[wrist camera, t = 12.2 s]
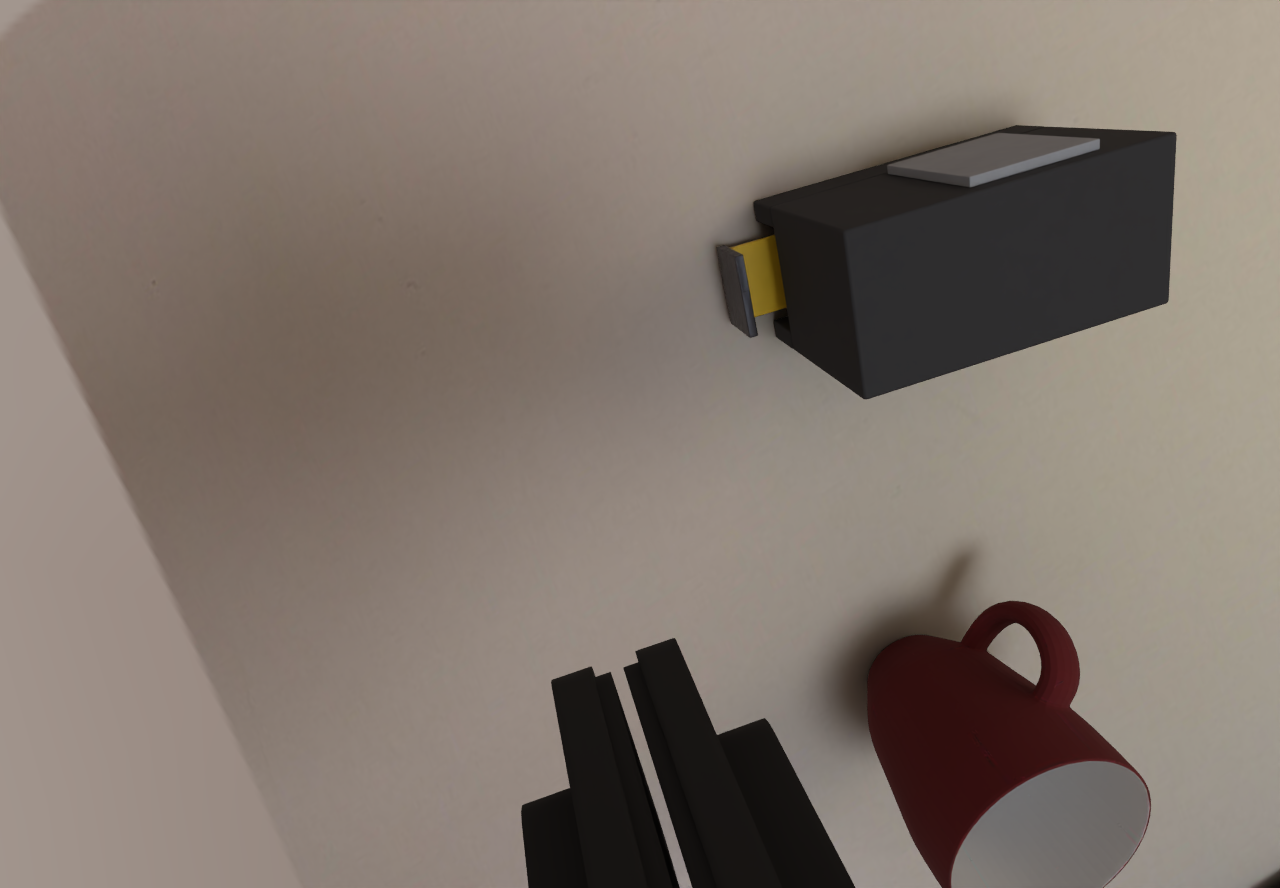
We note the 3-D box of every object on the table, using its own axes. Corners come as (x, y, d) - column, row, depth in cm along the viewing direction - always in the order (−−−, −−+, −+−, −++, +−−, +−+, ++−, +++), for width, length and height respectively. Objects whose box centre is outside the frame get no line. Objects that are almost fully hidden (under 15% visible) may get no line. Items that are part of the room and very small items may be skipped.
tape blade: (731, 323, 29) (749, 338, 27) (715, 247, 28) (734, 256, 26) (975, 248, 30) (1009, 258, 28) (971, 171, 29) (1006, 176, 27)
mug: (871, 539, 34) (1023, 695, 25) (1028, 552, 36) (1219, 699, 27) (805, 738, 38) (917, 936, 29) (952, 738, 40) (1099, 923, 31)
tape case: (777, 344, 30) (865, 408, 24) (750, 192, 27) (841, 219, 21) (1021, 268, 31) (1169, 311, 25) (1016, 115, 28) (1178, 120, 22)
